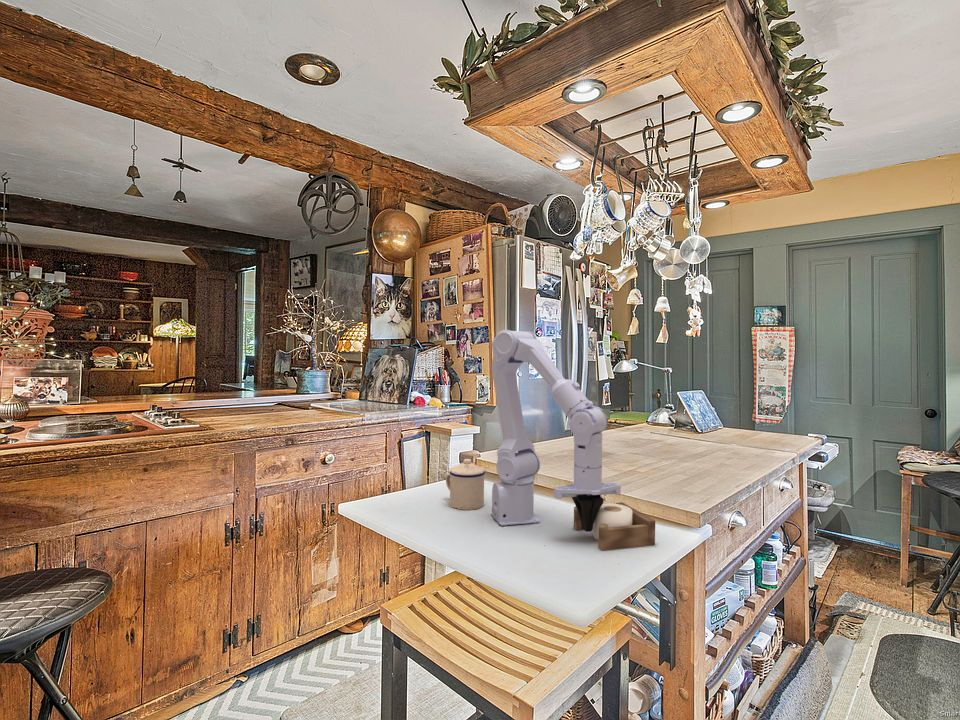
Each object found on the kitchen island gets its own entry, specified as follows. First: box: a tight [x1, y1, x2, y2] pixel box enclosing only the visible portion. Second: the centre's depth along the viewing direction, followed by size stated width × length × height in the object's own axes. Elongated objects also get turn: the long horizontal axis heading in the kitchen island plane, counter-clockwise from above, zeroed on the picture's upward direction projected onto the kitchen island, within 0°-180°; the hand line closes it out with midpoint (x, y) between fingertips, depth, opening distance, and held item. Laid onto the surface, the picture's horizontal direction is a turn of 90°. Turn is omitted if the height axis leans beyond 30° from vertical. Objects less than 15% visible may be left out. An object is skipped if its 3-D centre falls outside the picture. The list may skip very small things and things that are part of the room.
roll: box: [592, 502, 632, 542], centre depth 103 cm, size 8×8×6 cm
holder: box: [573, 501, 656, 552], centre depth 104 cm, size 12×13×5 cm
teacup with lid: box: [445, 458, 486, 511], centre depth 125 cm, size 12×9×12 cm
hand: (586, 529), depth 102 cm, fingers closed
